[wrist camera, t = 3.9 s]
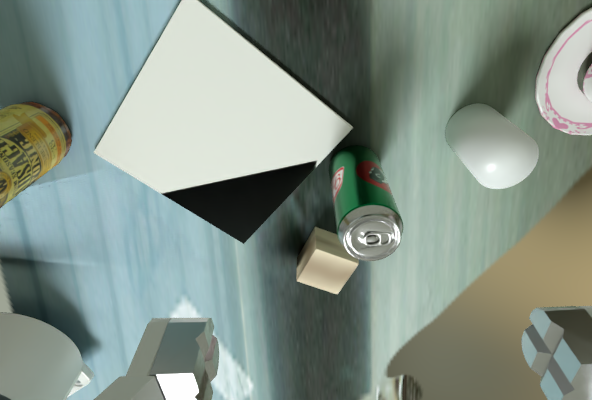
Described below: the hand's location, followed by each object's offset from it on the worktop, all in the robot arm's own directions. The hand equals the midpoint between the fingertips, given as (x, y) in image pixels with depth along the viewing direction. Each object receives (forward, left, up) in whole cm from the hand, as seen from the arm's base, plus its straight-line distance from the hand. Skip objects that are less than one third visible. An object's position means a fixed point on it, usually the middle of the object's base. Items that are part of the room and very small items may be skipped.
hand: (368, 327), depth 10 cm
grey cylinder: (+5, -15, -28) cm, 32 cm away
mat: (-11, +3, -28) cm, 30 cm away
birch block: (-15, -14, -28) cm, 35 cm away
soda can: (-5, -9, -28) cm, 30 cm away
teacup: (+16, -19, -28) cm, 38 cm away
